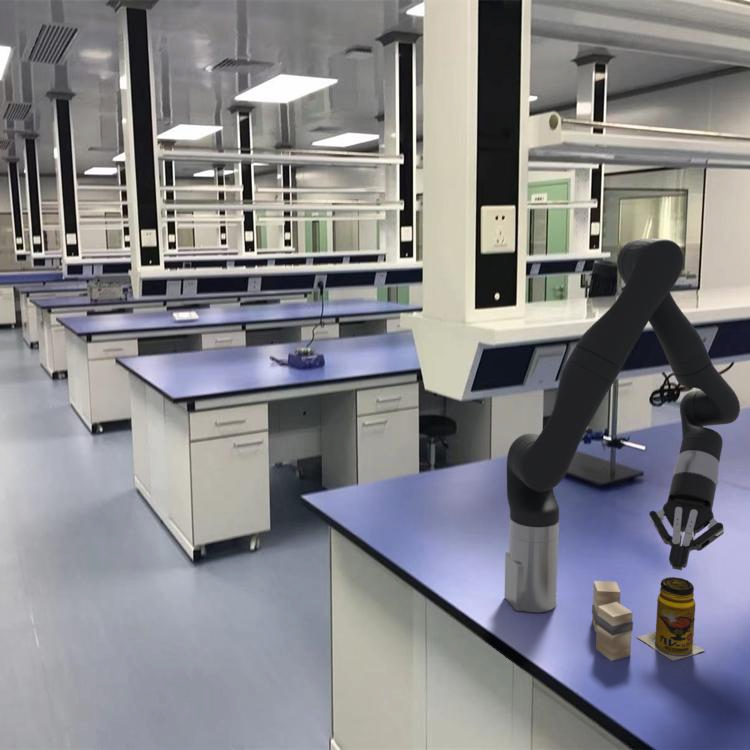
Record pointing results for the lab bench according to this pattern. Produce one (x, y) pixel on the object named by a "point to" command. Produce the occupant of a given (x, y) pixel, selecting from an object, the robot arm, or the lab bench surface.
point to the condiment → (674, 620)
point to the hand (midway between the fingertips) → (676, 567)
